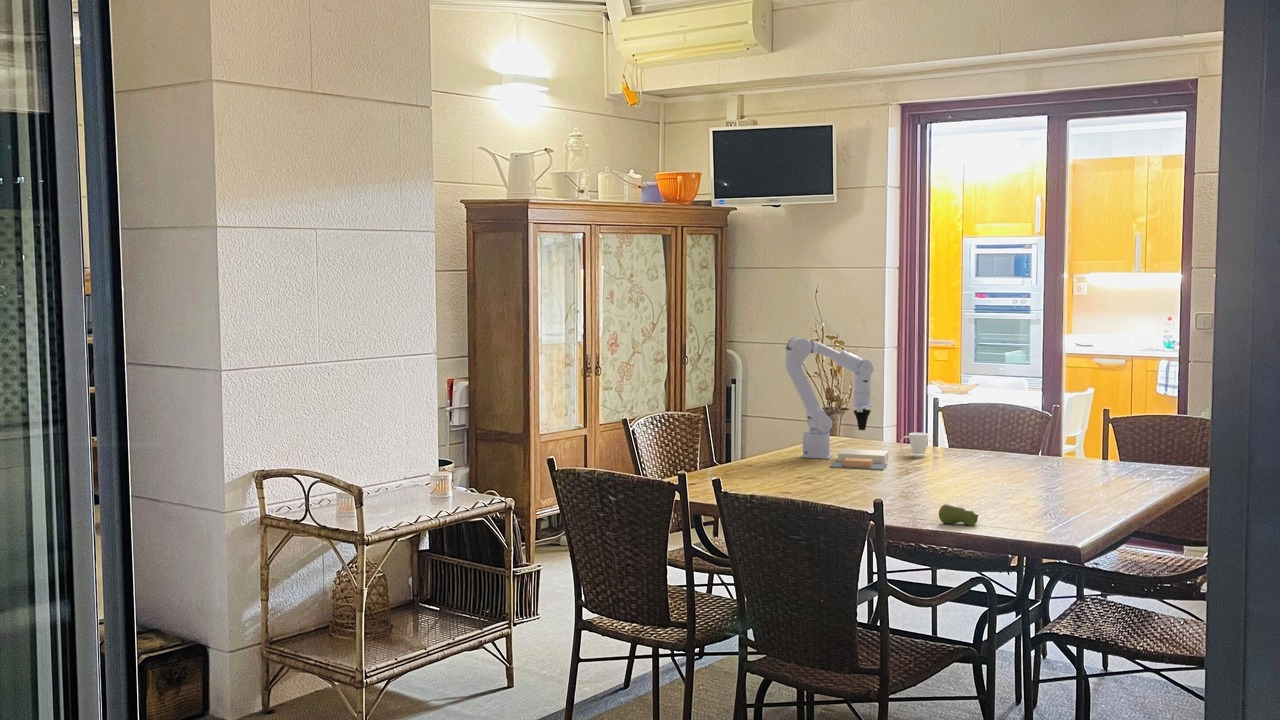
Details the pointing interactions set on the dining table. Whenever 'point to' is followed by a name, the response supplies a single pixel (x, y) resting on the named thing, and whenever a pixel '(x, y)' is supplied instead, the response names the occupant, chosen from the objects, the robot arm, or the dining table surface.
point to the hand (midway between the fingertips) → (862, 429)
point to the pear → (957, 515)
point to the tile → (858, 462)
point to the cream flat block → (864, 455)
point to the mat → (874, 467)
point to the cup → (917, 443)
